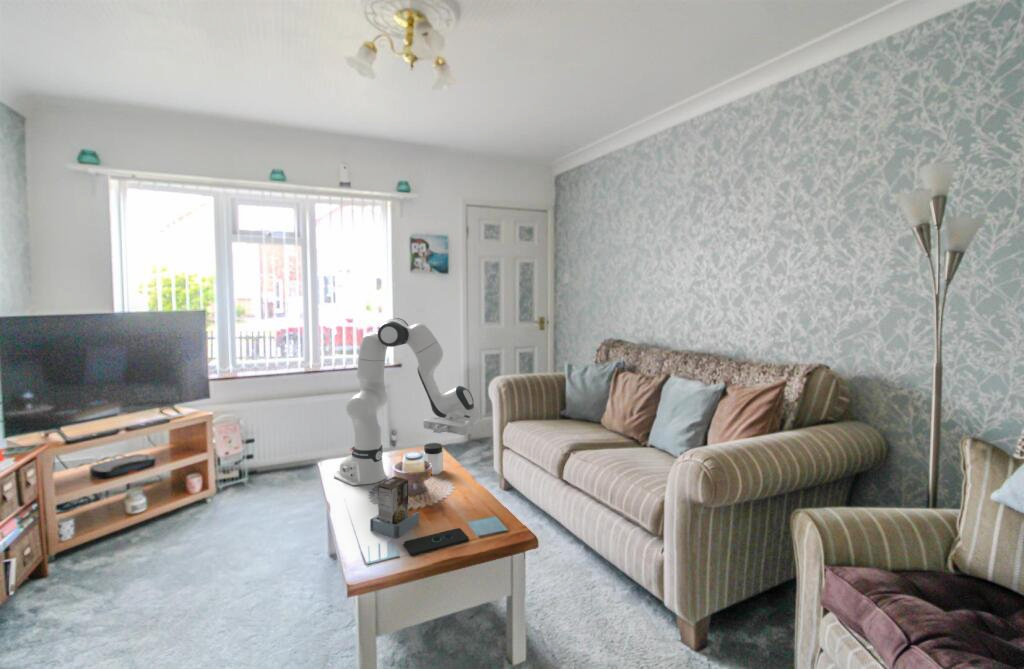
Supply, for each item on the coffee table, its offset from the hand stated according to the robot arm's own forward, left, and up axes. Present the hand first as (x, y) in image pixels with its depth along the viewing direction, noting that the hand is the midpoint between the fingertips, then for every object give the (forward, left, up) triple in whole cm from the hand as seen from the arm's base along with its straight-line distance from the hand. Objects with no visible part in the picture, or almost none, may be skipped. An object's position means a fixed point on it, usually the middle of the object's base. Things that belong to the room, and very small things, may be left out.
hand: (436, 430), depth 189 cm
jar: (-18, +24, -28) cm, 41 cm away
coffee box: (-1, -25, -28) cm, 37 cm away
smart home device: (+19, -27, -29) cm, 44 cm away
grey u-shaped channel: (0, -24, -28) cm, 37 cm away
